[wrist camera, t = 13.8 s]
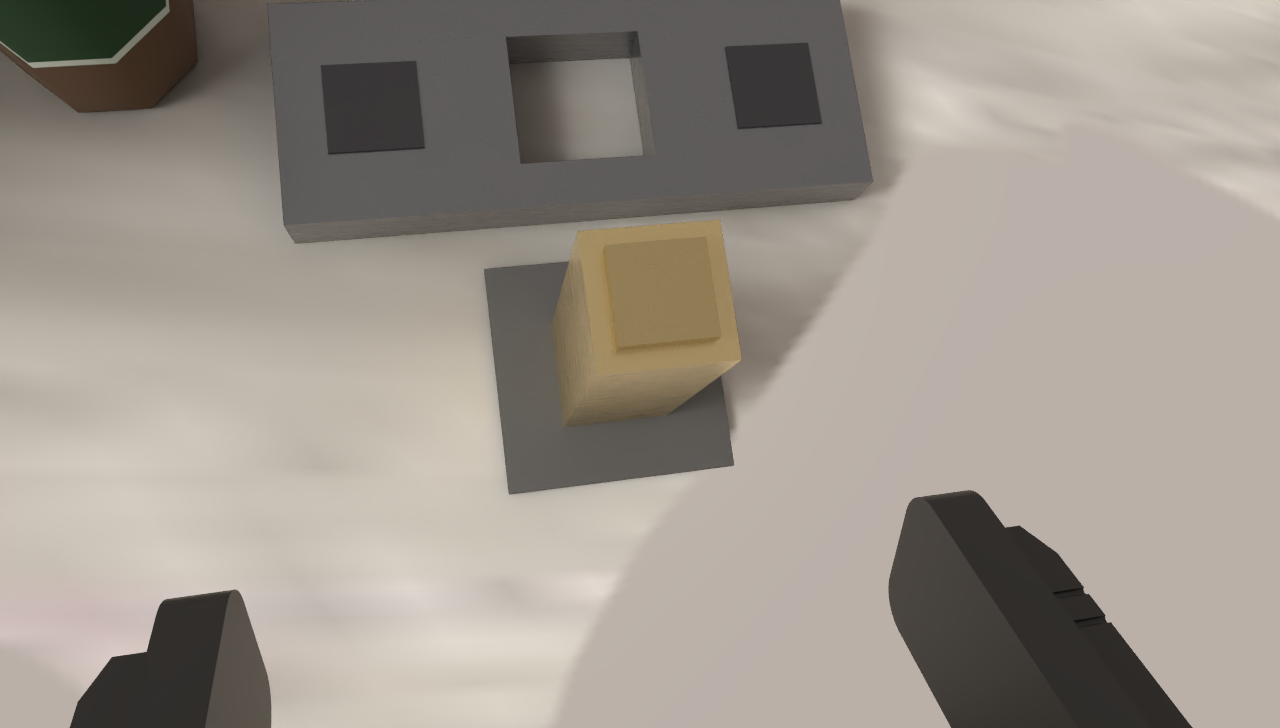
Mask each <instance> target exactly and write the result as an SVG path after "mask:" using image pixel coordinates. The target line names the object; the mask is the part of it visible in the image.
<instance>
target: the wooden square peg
mask: <svg viewBox="0 0 1280 728" xmlns="http://www.w3.org/2000/svg"><path fill="white" fill-rule="evenodd" d="M551 327H552V335H553V343H554V352H555V360H556V368H557V376H558V384H559V392H560V401H561V409H562V417H563V425H564V427H571V426H580V425H588V424H597V423H605V422H614V421H622V420H631V419H639V418H648V417H656V416H665V415H667V414H669V413H670V412H672V411H673V410H674V409H676V408H677V407H678V406H680V405H681V404H682V403H684V402H685V401H687V400H688V399H689V398H691V397H692V396H693V395H695V394H696V393H698V392H699V391H700V390H702V389H703V388H704V387H706V386H707V385H708V384H710V383H711V382H713V381H714V380H715V379H717V378H718V377H719V376H721V375H722V374H724V373H725V372H726V371H728V370H729V369H730V368H732V367H733V366H734V365H736V364H737V363H739V362H740V361H741V360H742V357H741V351H740V344H739V338H738V331H737V325H736V319H735V312H734V306H733V299H732V293H731V286H730V280H729V274H728V267H727V261H726V254H725V248H724V242H723V235H722V229H721V222H720V220H710V221H698V222H686V223H673V224H661V225H649V226H636V227H624V228H612V229H599V230H587V231H578V232H577V236H576V239H575V243H574V246H573V250H572V254H571V257H570V261H569V264H568V268H567V271H566V275H565V278H564V282H563V285H562V289H561V292H560V296H559V300H558V303H557V307H556V310H555V314H554V317H553V321H552V324H551Z"/></svg>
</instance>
